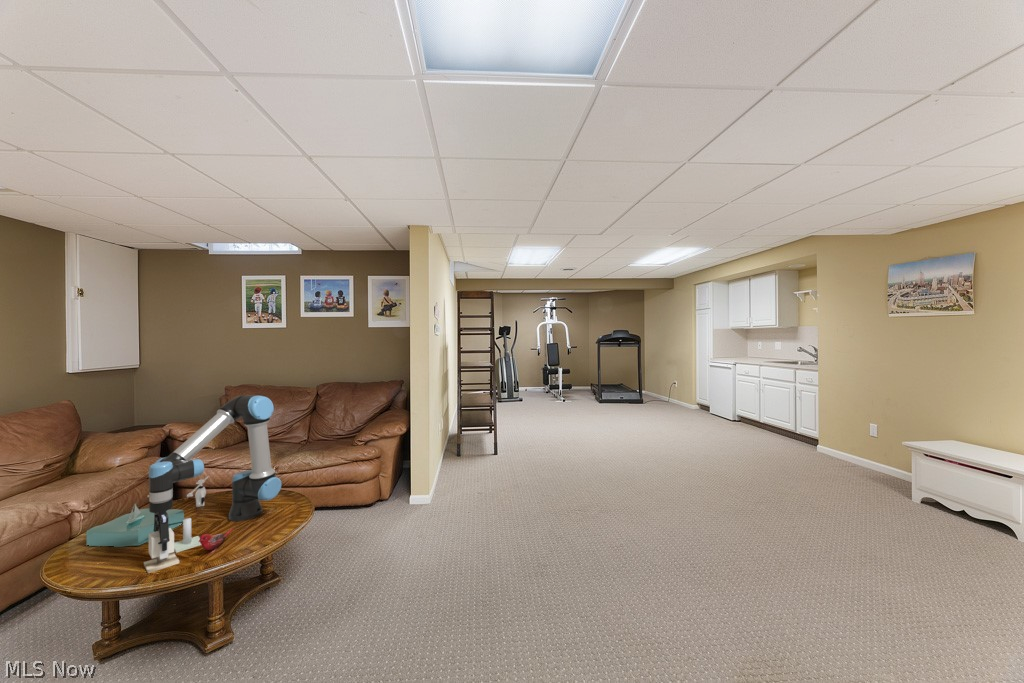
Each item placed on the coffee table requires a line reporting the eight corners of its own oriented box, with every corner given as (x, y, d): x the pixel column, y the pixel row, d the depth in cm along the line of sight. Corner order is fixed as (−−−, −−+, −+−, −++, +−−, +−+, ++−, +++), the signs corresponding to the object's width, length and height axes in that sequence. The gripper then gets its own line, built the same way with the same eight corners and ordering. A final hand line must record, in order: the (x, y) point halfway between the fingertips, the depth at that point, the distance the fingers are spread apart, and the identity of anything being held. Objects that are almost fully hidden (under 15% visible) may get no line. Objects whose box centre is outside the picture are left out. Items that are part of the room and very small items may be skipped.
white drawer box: (148, 552, 176) (148, 531, 176) (170, 546, 182) (170, 525, 182) (151, 558, 171) (151, 536, 171) (174, 551, 177) (174, 530, 177)
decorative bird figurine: (195, 560, 180) (195, 536, 180) (231, 540, 197) (231, 519, 197) (201, 560, 179) (200, 537, 179) (237, 541, 196) (236, 519, 196)
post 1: (143, 564, 176) (143, 536, 176) (174, 555, 184) (173, 528, 184) (148, 573, 170) (147, 543, 169) (179, 563, 177) (179, 535, 177)
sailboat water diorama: (138, 547, 192) (138, 511, 192) (86, 546, 193) (86, 511, 193) (184, 524, 217) (183, 492, 217) (137, 523, 218) (137, 491, 218)
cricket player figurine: (186, 505, 240) (186, 478, 240) (208, 500, 247) (208, 475, 247) (188, 512, 231) (187, 484, 231) (211, 507, 237) (211, 480, 237)
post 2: (171, 546, 192) (171, 519, 192) (198, 538, 200) (197, 512, 200) (176, 553, 186) (175, 525, 186) (203, 545, 193) (203, 518, 193)
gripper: (144, 496, 181) (145, 548, 181) (154, 510, 166) (154, 566, 166) (166, 491, 187) (167, 541, 187) (178, 504, 172) (178, 559, 172)
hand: (161, 553), depth 177 cm, fingers open, 10 cm apart
